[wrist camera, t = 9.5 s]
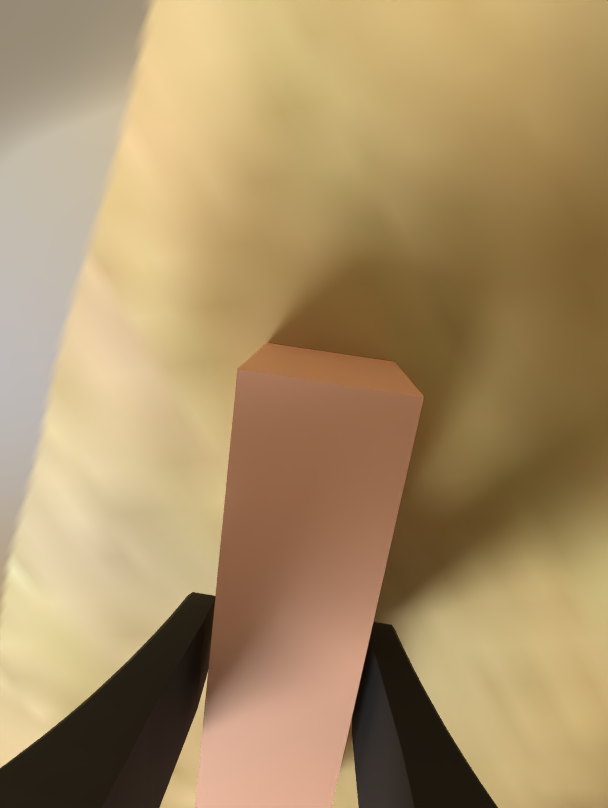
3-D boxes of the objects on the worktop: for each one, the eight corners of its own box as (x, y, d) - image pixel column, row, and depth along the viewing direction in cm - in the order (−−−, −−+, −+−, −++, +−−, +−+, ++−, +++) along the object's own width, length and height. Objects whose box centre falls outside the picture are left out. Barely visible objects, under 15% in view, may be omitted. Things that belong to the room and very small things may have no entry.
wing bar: (310, 776, 14) (303, 933, 11) (220, 761, 14) (184, 912, 11) (393, 359, 10) (423, 396, 7) (268, 341, 10) (237, 368, 7)
